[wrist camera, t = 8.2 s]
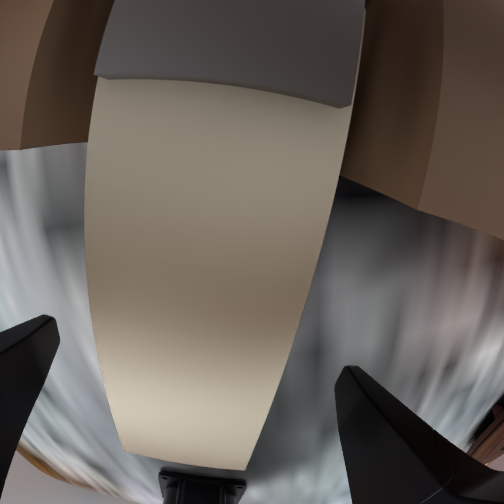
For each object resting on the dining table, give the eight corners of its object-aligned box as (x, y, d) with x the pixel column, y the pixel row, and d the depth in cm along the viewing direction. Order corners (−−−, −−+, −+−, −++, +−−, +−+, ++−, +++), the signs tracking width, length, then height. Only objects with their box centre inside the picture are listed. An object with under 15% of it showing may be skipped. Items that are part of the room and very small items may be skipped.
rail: (243, 371, 12) (245, 482, 7) (153, 357, 12) (120, 462, 7) (307, 58, 8) (379, -19, 3) (184, 41, 7) (125, -48, 2)
